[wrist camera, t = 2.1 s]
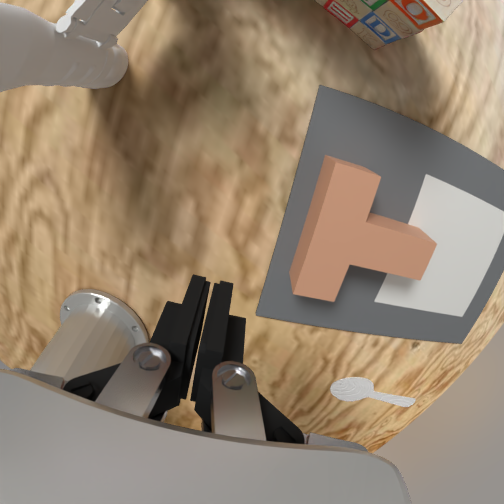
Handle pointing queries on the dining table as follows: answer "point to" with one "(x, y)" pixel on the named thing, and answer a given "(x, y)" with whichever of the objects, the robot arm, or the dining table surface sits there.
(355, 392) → the spoon
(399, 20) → the stack of blocks
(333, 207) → the t block
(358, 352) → the dining table surface
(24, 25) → the binoculars
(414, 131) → the mat
